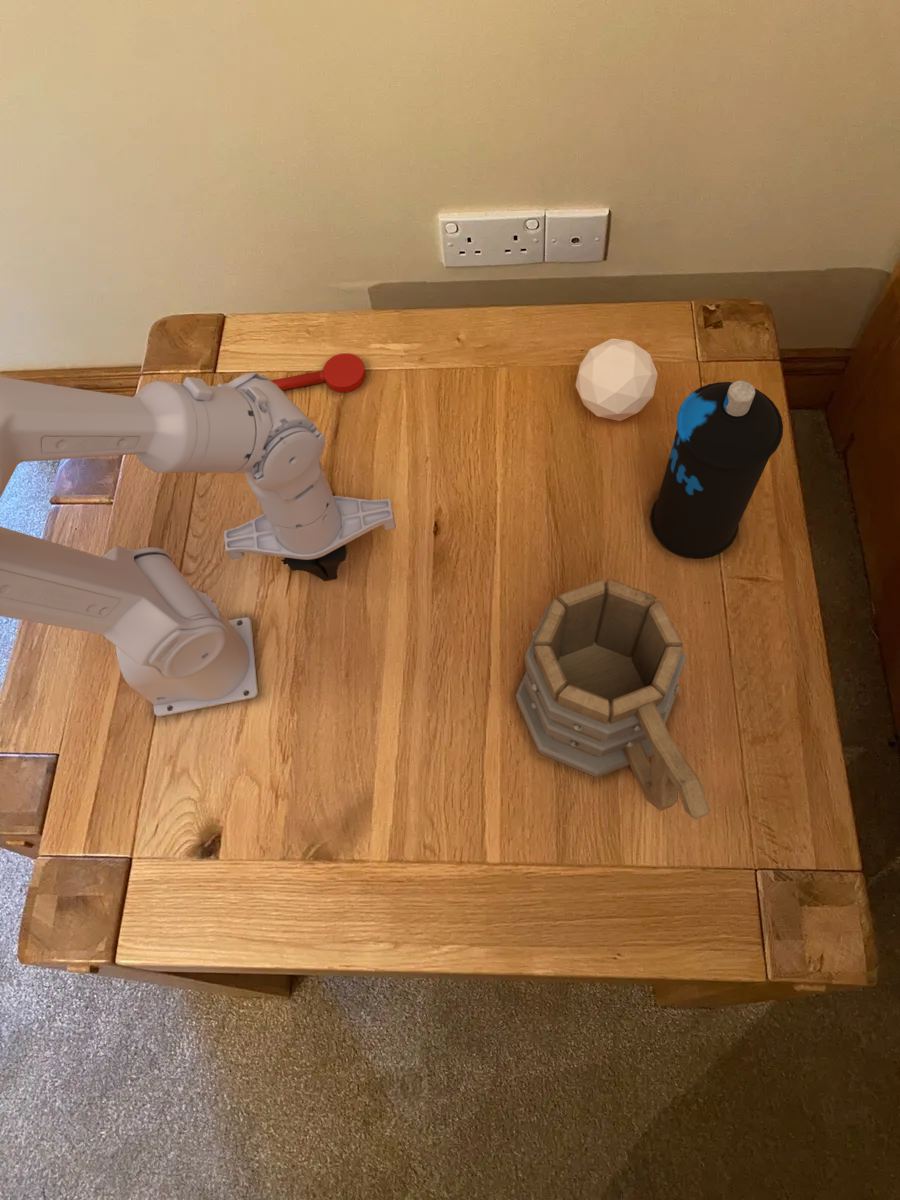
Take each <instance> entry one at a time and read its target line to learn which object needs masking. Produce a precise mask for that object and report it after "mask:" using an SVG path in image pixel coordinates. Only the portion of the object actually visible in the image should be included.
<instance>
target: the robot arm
mask: <svg viewBox="0 0 900 1200" xmlns="http://www.w3.org/2000/svg"><path fill="white" fill-rule="evenodd" d="M271 380H272V379H270V378H269V377H267V376H265V375H261V374H259V373H258V372H255V371H254V372H248V373H245V374H241V375H240V376H237V377H236V378H234V379H232V380H231V381H229V382H225V383H218V384H217V385H208V384H207V383H206V382H205V381H204V380H203V379H202V378H200V377H193V376H192V377H190V376H185V378H184V380H183V382H176V381H175V382H174V381H164V380H153V381H150V382H148V383H146V384H145V385H143V386H142V387H141V388H139V390H138V391H137V392H136V393H135V394H134V395H133V396H128V395H123V394H115V393H110V392H103V391H102V392H101V391H97V390H89V389H82V388H76V387H70V386H69V387H68V386H64V385H63V386H62V385H55V384H51V383H50V384H49V383H43V382H37V381H30V380H23V379H16V378H11V377H4V376H0V499H1V498H2V496H3V493H4V491H5V490H6V488H7V486H8V484H9V482H10V480H11V478H12V476H13V474H14V472H15V471H16V468H17V467H18V465H19V464H22V463H25V462H27V463H28V462H40V461H55V460H70V459H71V460H72V459H84V458H85V459H87V458H101V457H116V456H117V457H118V456H131V455H135V457H136V458H137V459H138V461H139V462H140V463H141V464H142V465H143V466H144V467H145V468H147V469H148V470H149V471H151V472H154V473H157V474H244V475H245V478H246V481H247V484H248V486H249V488H250V489H251V491H252V493H253V495H254V497H255V499H256V500H257V502H258V504H259V506H260V508H261V510H262V512H263V513H262V514H260V515H258V516H257V517H255V518H253V519H251V520H249V521H247V522H245V523H243V524H240V525H239V526H236V527H233V528H228V529H224V531H223V538H224V550H225V552H226V554H227V555H228V556H229V558H230V560H231V561H236V560H240V559H241V560H242V559H243V558H244V556H245V554H256V555H263V556H269V557H270V556H271V557H279V558H284V557H286V562H287V564H286V565H287V566H288V568H289V569H290V570H291V571H293V572H295V571H300V572H305V573H308V574H311V575H313V576H315V577H317V578H318V579H320V580H321V581H322V582H324V583H325V582H330V581H334V580H338V577H339V576H338V569H339V566H340V564H342V562H345V561H346V559H347V545H346V544H348V543H350V542H351V541H352V542H353V541H354V540H355V539H357V538H359V537H361V536H363V535H365V534H367V533H369V532H370V531H372V530H374V529H376V528H378V527H380V526H382V528H383V530H384V531H389V530H395V529H396V528H397V525H396V519H395V515H394V509H393V506H392V501H391V498H383V499H366V498H357V497H349V496H348V497H347V496H340V495H335V496H333V494H334V493H333V491H332V489H331V485H330V483H329V481H328V477H327V475H326V472H325V469H324V467H323V464H322V462H321V458H322V455H323V453H324V450H325V447H326V434H325V433H323V432H322V433H321V432H320V431H319V430H318V427H317V426H316V424H315V423H314V422H313V421H312V420H311V419H310V418H309V417H308V416H307V414H306V413H305V412H304V411H302V409H301V408H300V407H298V405H297V404H296V403H294V401H293V400H292V399H291V398H290V397H289V396H288V395H287V394H286V393H285V392H284V390H281V389H280V388H279V387H278V386H277V385H276V384H275V383H273V382H272V381H271ZM332 493H333V494H332ZM0 617H4V618H9V619H15V620H20V621H24V622H25V621H26V622H31V623H36V624H42V625H47V626H53V627H59V628H64V629H69V630H75V631H79V632H85V633H90V634H97V635H101V636H102V637H103V638H105V639H106V640H107V641H109V642H110V643H111V644H113V645H114V646H115V655H116V660H117V664H118V668H119V671H120V673H121V675H122V678H123V679H124V681H125V683H127V685H128V686H129V687H130V688H131V689H133V690H134V691H135V692H136V693H137V694H139V695H140V696H141V697H143V698H144V699H145V700H146V701H147V702H149V703H150V704H152V705H153V713H154V714H153V715H155V716H156V717H166V716H171V715H177V714H181V713H187V712H192V711H197V710H201V709H206V708H211V707H215V706H220V705H221V706H222V705H227V704H231V703H236V702H241V701H246V700H251V699H255V698H256V697H257V696H258V695H259V688H258V687H259V686H258V677H257V667H256V666H257V665H256V658H255V657H256V656H255V646H254V635H253V626H252V625H253V624H252V620H251V619H250V617H247V616H243V617H239V618H234V619H227V618H226V616H225V615H224V614H223V612H222V611H221V610H220V609H219V607H218V606H217V605H216V603H215V602H214V601H213V599H212V598H211V597H210V596H209V595H207V594H206V593H204V592H203V591H201V590H198V589H197V588H194V587H193V586H192V585H191V584H190V582H189V581H188V580H187V578H186V577H185V576H184V575H183V573H181V571H180V570H179V568H178V567H177V566H176V565H175V563H174V562H173V558H172V557H171V555H170V554H169V553H168V552H167V551H166V550H164V549H163V548H160V547H156V546H147V547H141V548H126V547H123V546H120V545H116V546H114V547H112V548H111V549H109V550H107V552H105V554H103V555H102V556H100V555H97V554H93V553H90V552H86V551H84V550H80V549H76V548H74V547H70V546H66V545H63V544H60V543H56V542H53V541H49V540H47V539H43V538H40V537H37V536H34V535H30V534H26V533H23V532H20V531H16V530H14V529H10V528H7V527H4V526H0ZM240 623H241V624H240ZM239 624H240V625H239ZM247 692H248V694H247V695H246V693H247ZM170 708H172V709H171V710H170Z"/></svg>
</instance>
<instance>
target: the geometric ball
mask: <svg viewBox="0 0 900 1200" xmlns="http://www.w3.org/2000/svg"><path fill="white" fill-rule="evenodd" d="M658 375H659V374H658V371H657V369H656V366H655V363H654V361H653V359H652V356H651V354H650V352H648V351H646V350H645V349H644V348H642V347H641V346H639V344H636V343H635V342H634V341H632V340H627V339H620V338H610V339H607V340H606V341H604V342H602V343H599V344H597V345H596V346H594V347H592V348H590V349H589V351H588V352H587V353H586V355H585V357H584V358H583V360H582V361H581V362H580V363H579V368H578V373H577V377H576V381H575V388H576V390H577V394H578V395H579V397H580V400H581V402H582V404H583V406H584V407H585V408H587V409H588V410H589V411H590V412H591V413H592V414H594V415H595V416H596V417H597V418H598V417H599V418H602V419H608V420H612V421H617V422H621V421H624V420H625V419H628V418H629V417H632V416H634V415H636V414H638V413H640V412H641V411H642V410H643V409H644V408H645V407H646V405H647V404H648V403H649V402H650V401H651V399H652V398H653V397H654V394H655V390H656V385H657V381H658Z"/></svg>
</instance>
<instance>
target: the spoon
mask: <svg viewBox="0 0 900 1200" xmlns="http://www.w3.org/2000/svg"><path fill="white" fill-rule="evenodd" d="M270 380H271V381H272V382H273V383H275V384H276V385H277V386H278V387H279V388H280V389H281V390H282V391H286V390H291V389H296V388H301V387H306V386H307V387H308V386H311V385H317V384H322V383H325V384H326V386H327V387H328V388H329V389H330V390H332V391H333V392H337V393H349V392H353V391H355V390H356V389H358V388H360V387H361V386H362V384H363V383H364V382H365V380H366V368H365V364H364V362H363V360H362V359H361V358H360V357H359V356H358V355H355V354H353V353H347V352H346V353H343V352H342V353H338V354H336V355H334V356H332V357H330V358H329V359H328V360H327V361H326V362H325V363H324V366H323V369H322V370H319V371H318V370H317V371H312V372H309V373H308V372H307V373H302V374H296V375H292V376H287V377H282V378H277V379H270Z"/></svg>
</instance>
